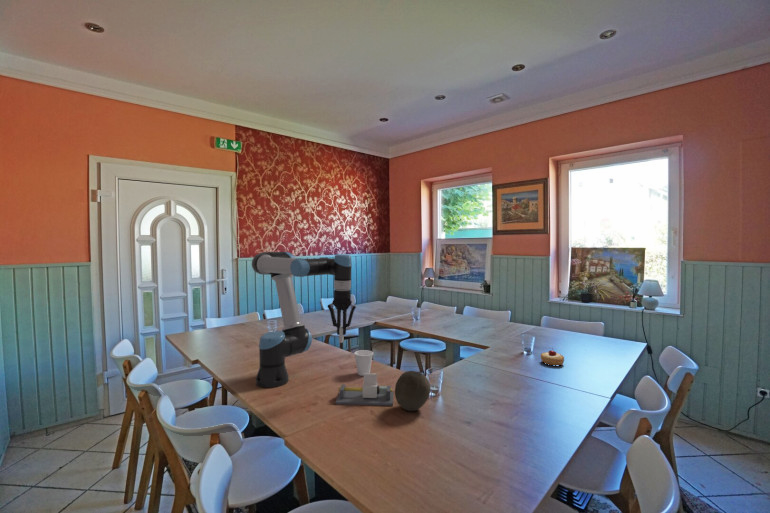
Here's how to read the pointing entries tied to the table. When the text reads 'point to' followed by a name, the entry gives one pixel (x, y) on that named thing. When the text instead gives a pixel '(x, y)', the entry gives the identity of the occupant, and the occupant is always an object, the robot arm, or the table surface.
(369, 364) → the cup
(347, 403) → the horizontal rod stand
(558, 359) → the pastry
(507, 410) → the table surface
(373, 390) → the sleeve
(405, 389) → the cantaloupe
